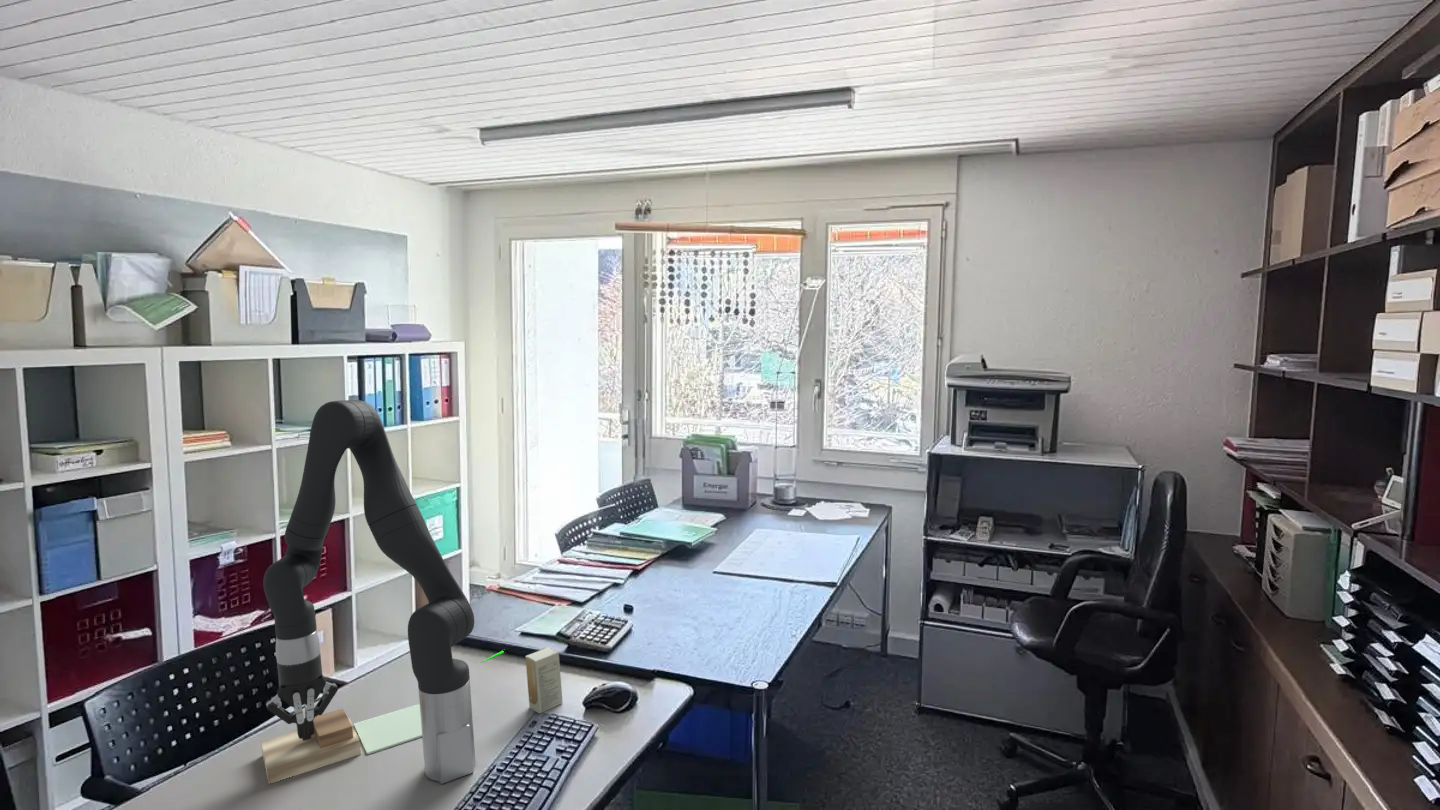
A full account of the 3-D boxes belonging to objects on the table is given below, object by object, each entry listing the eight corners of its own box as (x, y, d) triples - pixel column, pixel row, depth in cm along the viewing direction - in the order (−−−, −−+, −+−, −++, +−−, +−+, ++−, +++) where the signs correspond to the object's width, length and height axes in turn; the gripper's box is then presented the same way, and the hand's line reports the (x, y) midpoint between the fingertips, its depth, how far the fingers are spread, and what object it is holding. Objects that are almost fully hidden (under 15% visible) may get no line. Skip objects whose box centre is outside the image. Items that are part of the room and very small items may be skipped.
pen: (525, 644, 204) (524, 641, 204) (481, 664, 193) (480, 661, 193) (522, 643, 205) (522, 640, 205) (478, 664, 193) (478, 660, 193)
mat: (467, 721, 165) (467, 720, 165) (367, 754, 153) (367, 752, 153) (448, 696, 176) (448, 694, 176) (353, 725, 165) (353, 723, 165)
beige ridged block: (360, 754, 154) (359, 740, 153) (268, 784, 144) (267, 769, 144) (349, 728, 163) (348, 715, 163) (262, 755, 154) (260, 741, 154)
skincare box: (552, 697, 175) (549, 645, 173) (563, 703, 172) (560, 651, 170) (527, 707, 170) (524, 655, 169) (538, 714, 167) (534, 661, 166)
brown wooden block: (353, 737, 154) (352, 726, 154) (319, 748, 151) (318, 736, 150) (343, 719, 161) (342, 708, 161) (311, 729, 158) (310, 718, 158)
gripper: (261, 671, 144) (270, 758, 146) (339, 651, 152) (346, 734, 154) (257, 657, 150) (266, 741, 152) (332, 639, 158) (339, 719, 160)
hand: (306, 737), depth 153 cm, fingers closed
